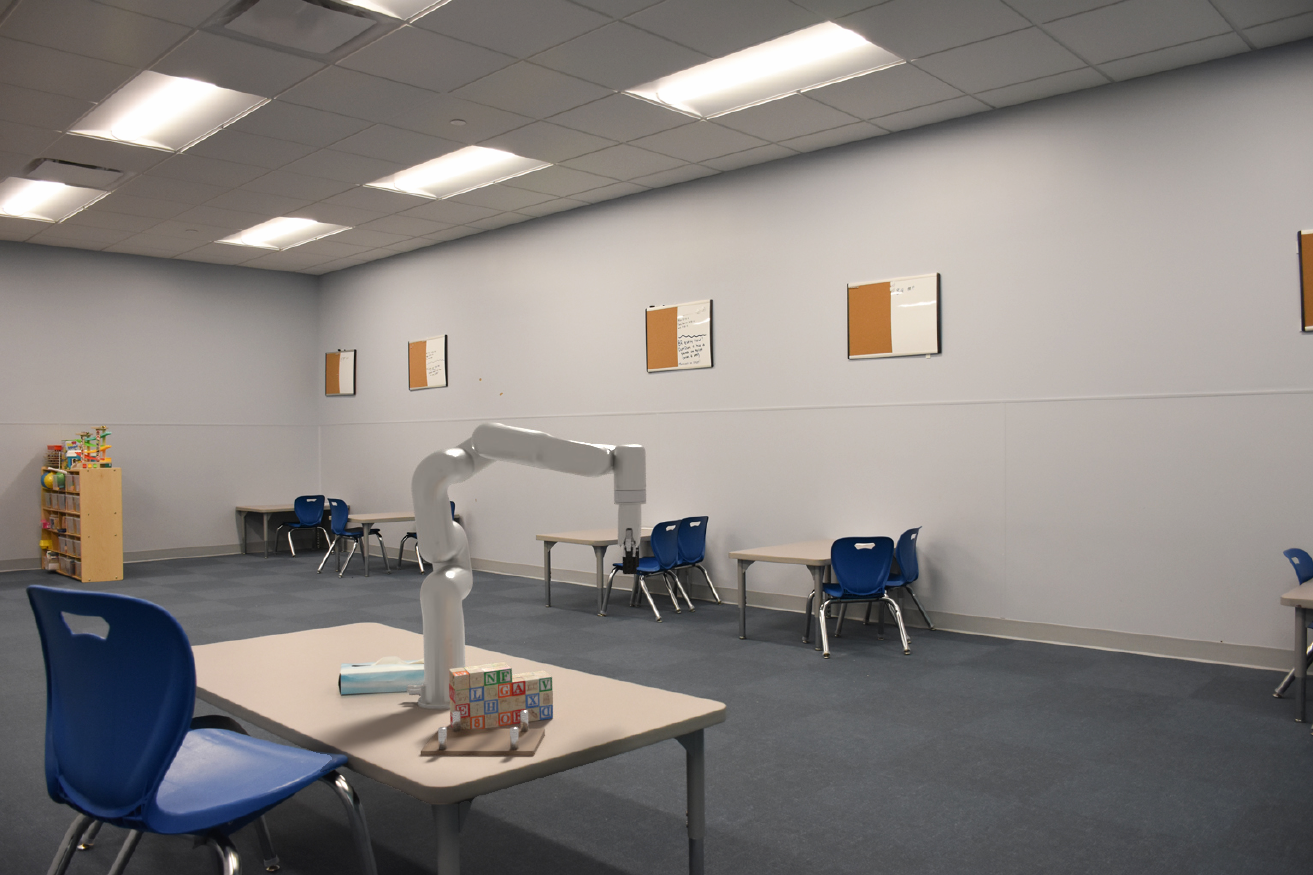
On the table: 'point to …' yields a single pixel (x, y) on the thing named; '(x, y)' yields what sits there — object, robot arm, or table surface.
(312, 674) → the table surface
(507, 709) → the stack of blocks
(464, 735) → the pin board
